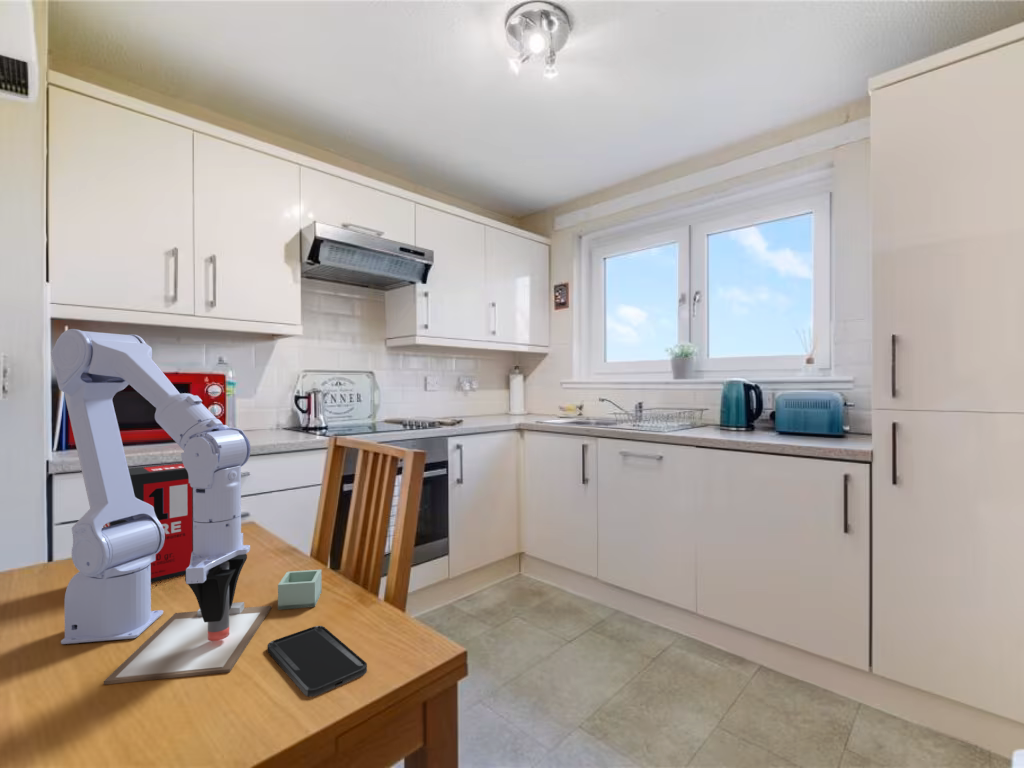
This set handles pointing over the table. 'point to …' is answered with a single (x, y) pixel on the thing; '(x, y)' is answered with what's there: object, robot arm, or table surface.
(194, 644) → the clipboard
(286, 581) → the box
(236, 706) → the table surface
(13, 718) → the table surface
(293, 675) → the phone
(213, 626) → the marker
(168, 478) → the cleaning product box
